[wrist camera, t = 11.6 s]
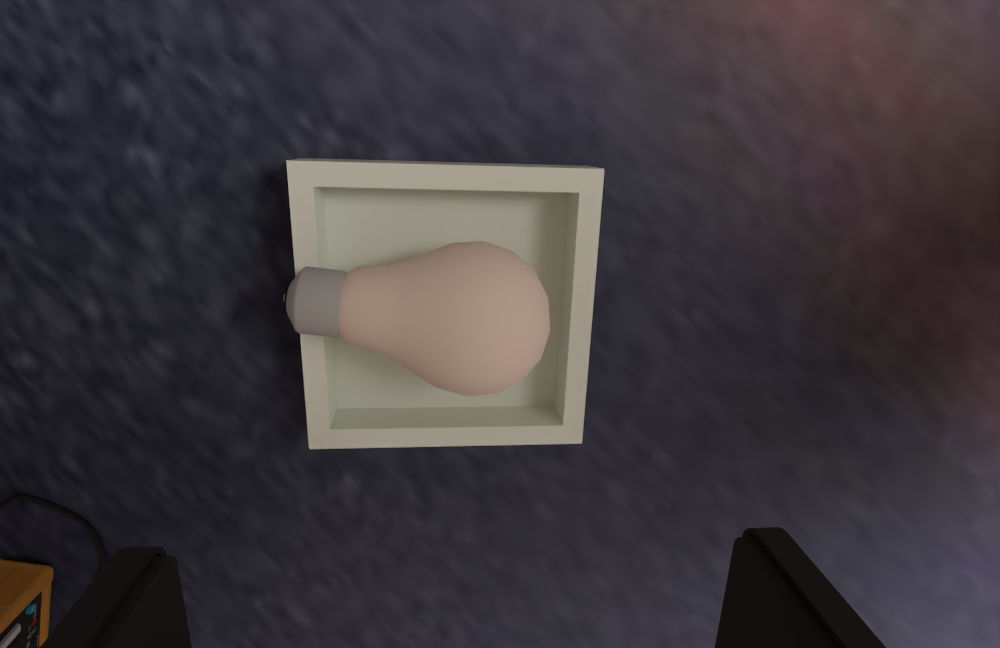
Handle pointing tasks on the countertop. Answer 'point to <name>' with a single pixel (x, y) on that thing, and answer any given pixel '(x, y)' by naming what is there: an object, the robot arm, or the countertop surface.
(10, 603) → the multimeter
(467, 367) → the light bulb
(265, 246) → the countertop surface
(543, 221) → the tray
